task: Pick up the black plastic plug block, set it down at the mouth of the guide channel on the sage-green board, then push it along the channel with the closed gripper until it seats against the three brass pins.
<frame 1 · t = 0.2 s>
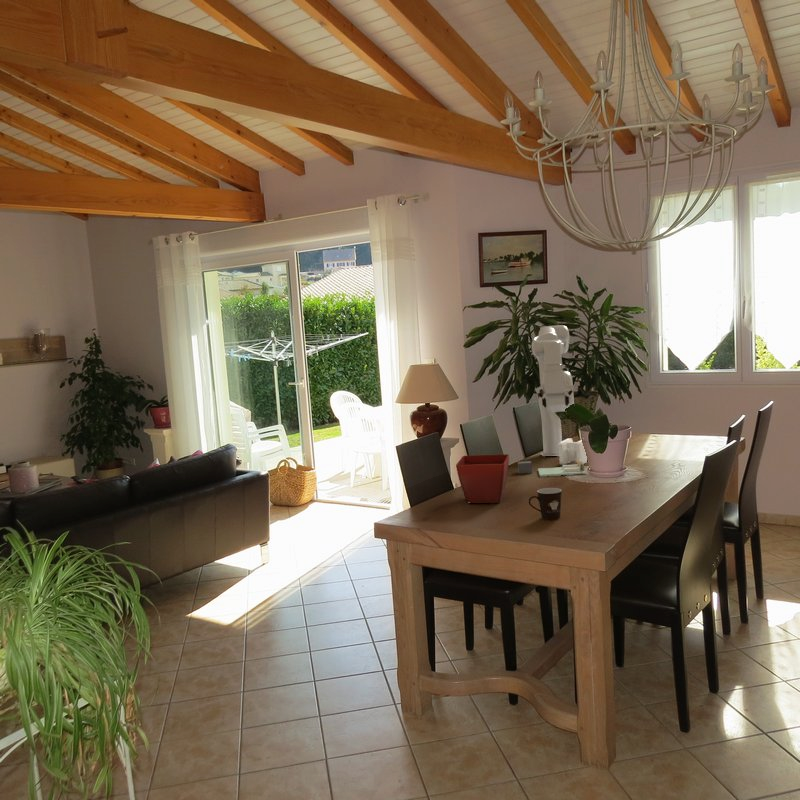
hand: (555, 406, 345), 31 cm above the table, tool pointing down, fingers open, 9 cm apart
coffee mug: (546, 518, 276), on the table
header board: (561, 472, 349), on the table
cable organizer: (574, 464, 366), on the table
plant pot: (485, 500, 309), on the table
plug: (525, 472, 355), on the table
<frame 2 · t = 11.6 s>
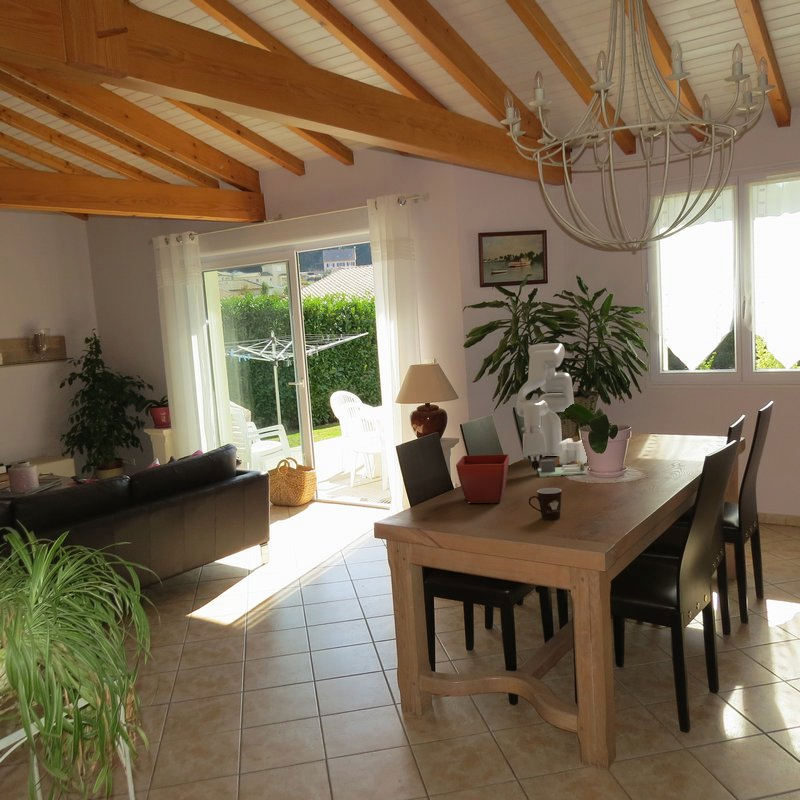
hand: (535, 469, 350), 2 cm above the table, tool pointing down, fingers closed
plug: (548, 471, 350), point 1 cm above the table, touching gripper
everything else where it was.
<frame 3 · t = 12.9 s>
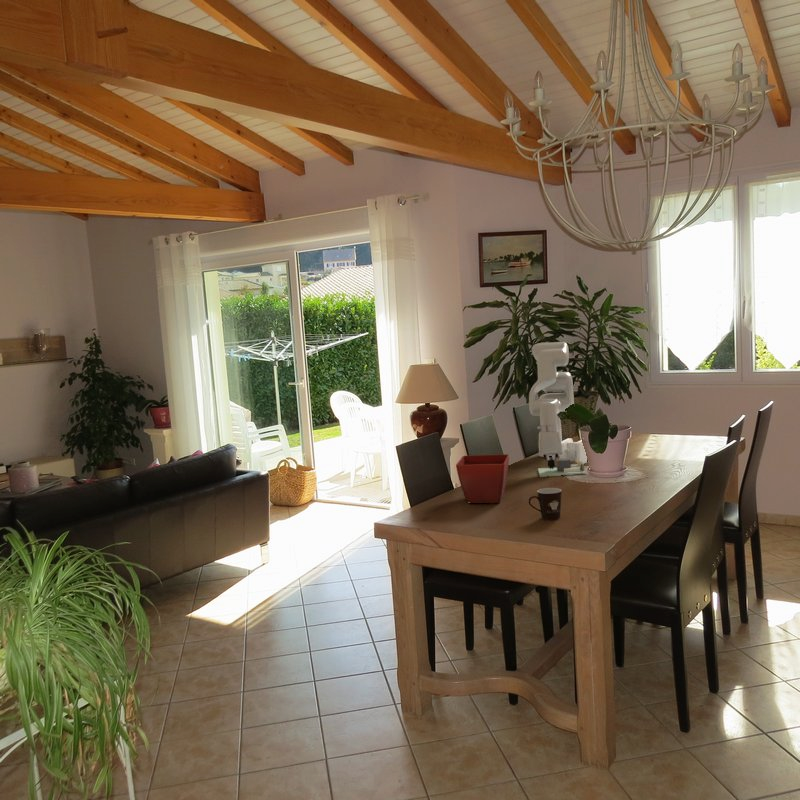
hand: (551, 468, 349), 2 cm above the table, tool pointing down, fingers closed
plug: (563, 470, 348), point 1 cm above the table, touching gripper, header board
everything else where it was.
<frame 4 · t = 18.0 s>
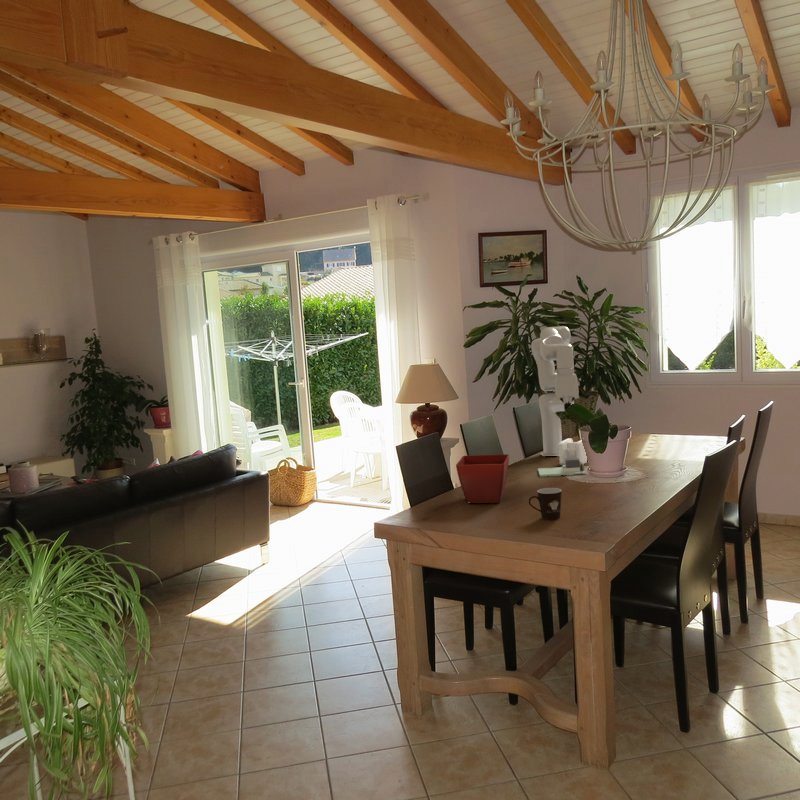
hand: (568, 411, 350), 27 cm above the table, tool pointing down, fingers closed
plug: (572, 470, 348), point 1 cm above the table, touching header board
everything else where it was.
at the end: plug 1.0 cm from the target spot on the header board, point 1.0 cm above the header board's base; plug tilted 0°; the gripper is holding nothing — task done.
